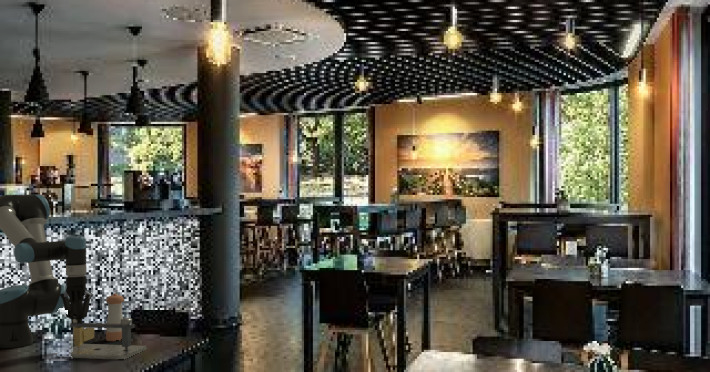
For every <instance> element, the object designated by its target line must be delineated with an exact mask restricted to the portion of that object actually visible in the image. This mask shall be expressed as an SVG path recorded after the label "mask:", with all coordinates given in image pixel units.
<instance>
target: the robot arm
mask: <svg viewBox="0 0 710 372" xmlns="http://www.w3.org/2000/svg"><path fill="white" fill-rule="evenodd" d="M50 209H51V208H50V205H49V201H48V199H46V197H45V196H43V195H42V194H34V193H30V194H4V195H0V230H1V232H2V233H3V234H4V235H5V236H6V238H7V239H8V240H9V241H10V243H11V244H12V246H14V250H13V255H14V259H15V261H16V262H17V263H20V264H22V263H26V264H27V265H28V269H29V273H30V274H29V275H30V280H31V281H30V282H29V284H28V285H27V284H20V285H12V286H8V287H5V288H1V289H0V349H12V348H14V349H15V348H21V347H25V346H28V345H32V344H33V343H34V336H33V334H32V331H31V328H30V326H29V317H34V316H41V315H47V314H49V315H51V314H54V313H58V312H57V311H58V309H59V308H63V309H64V311H65V310H68V315H67V314H66V313H65V316H66V318H69V319H70V320H71V321H70V323H83V319H84V318H87V317H88V313H89V309H90V308H89V306H90V303H91V298H92V297H93V295H94V294H93V292H90V291H88V288H87V283H88V282H87V240H86V239H87V238H86V237H85V236H82V235H81V236H80V235H79V236H77V235H75V236H67V237H66V238H65V240H64V239H63V240H56V241H47V238H46V232H45V227H44V226H45V224H46V223H47V220H48V219H49V218H50ZM61 260H62V261H63V260H64V261H65V275H66V277H65V285H64V284H61V283H59V279H58V278H56V277H55V276H54V273H53V269H52V263H51V261H61ZM65 286H66V287H65ZM74 328H75V327H72V336H73V337H74Z"/></svg>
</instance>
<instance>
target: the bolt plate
mask: <svg viewBox="0 0 710 372" xmlns="http://www.w3.org/2000/svg"><path fill="white" fill-rule="evenodd" d="M146 349H147V350H148V346H147V345H133V344H131V346H129V347H128V349H125V347H122V344H102V343H101V344H100V343H98V344H97V343H96V344H95V343H83V344H82V345H80V348H77V345H73V352H72V353H71V356H72V357H74V358H73V359H91V360H92V359H95V360H96V359H99V360H118V359H124V360H123V361H125V359H126V360H128V359H130V358H132V357H134V356H136V355H135V354H137V353H139V354H141V353H143V352H145V351H147V350H146ZM144 350H145V351H144ZM142 351H143V352H142ZM140 352H141V353H140ZM133 355H134V356H133ZM137 355H138V354H137ZM131 356H132V357H131ZM129 357H130V358H129ZM127 358H128V359H127Z"/></svg>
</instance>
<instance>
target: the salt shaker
mask: <svg viewBox="0 0 710 372" xmlns="http://www.w3.org/2000/svg"><path fill="white" fill-rule="evenodd" d="M124 301H125V298H124V296H122V295H120V294H117V293H116V292H114V293H113V294H112V295H109V296H107V298H106V299H105V302H106V303H107V319H106V323H108V324H121V319H124V317H123V303H124ZM121 339H122V328H106V332H105V341H107V342H117V341H116V340H119V341H122V340H121Z"/></svg>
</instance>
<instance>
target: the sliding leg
mask: <svg viewBox="0 0 710 372" xmlns="http://www.w3.org/2000/svg"><path fill="white" fill-rule="evenodd" d="M92 339H95V327H75V328H74V336H73V346H77V348H80V345H82V344H84V342H88V341H89V340H92Z"/></svg>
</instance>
